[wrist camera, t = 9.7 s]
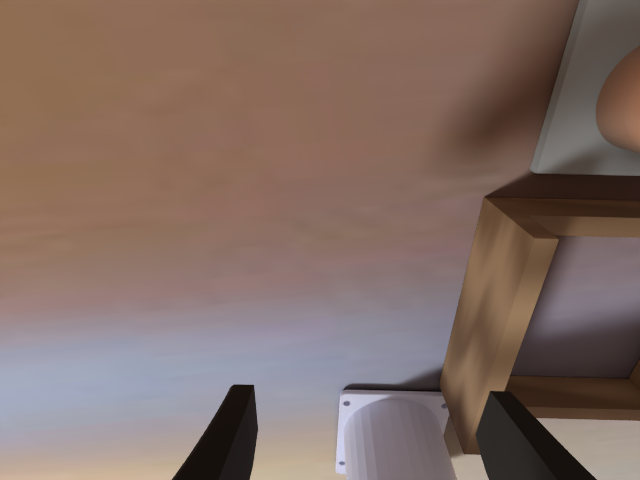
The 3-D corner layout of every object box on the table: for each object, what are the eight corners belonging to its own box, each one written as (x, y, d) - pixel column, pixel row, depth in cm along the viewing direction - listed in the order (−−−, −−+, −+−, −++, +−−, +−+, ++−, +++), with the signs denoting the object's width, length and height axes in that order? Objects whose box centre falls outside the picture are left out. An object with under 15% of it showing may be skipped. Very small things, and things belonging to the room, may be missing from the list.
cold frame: (636, 389, 25) (705, 460, 20) (438, 384, 25) (464, 454, 20) (748, 203, 18) (883, 246, 14) (484, 196, 19) (534, 238, 14)
